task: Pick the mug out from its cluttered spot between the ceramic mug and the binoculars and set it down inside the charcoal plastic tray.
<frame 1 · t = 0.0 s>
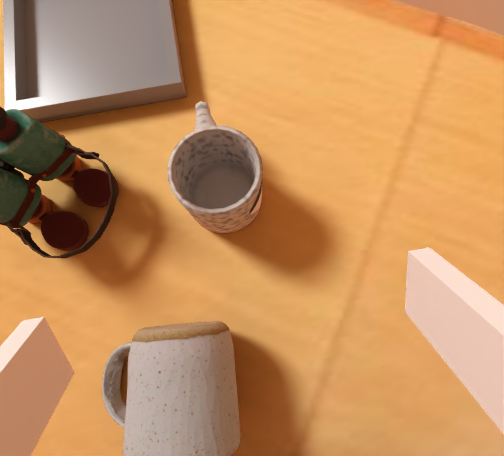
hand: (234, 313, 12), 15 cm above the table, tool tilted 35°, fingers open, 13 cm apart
ceramic mug: (178, 376, 26), on the table
mug: (221, 181, 29), on the table
binoculars: (81, 205, 29), on the table
tray: (98, 41, 32), on the table
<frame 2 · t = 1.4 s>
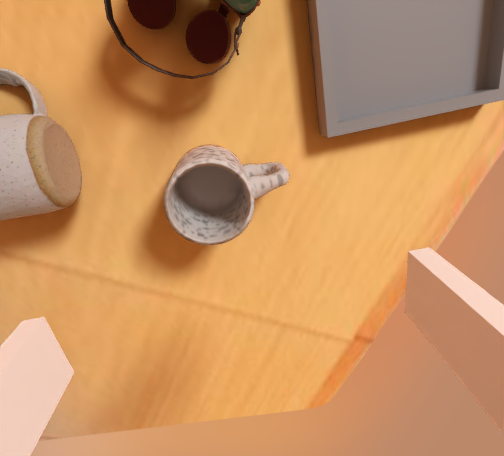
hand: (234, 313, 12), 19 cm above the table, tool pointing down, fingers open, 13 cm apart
ceramic mug: (25, 142, 27), on the table
mug: (227, 175, 30), on the table
binoculars: (190, 13, 24), on the table
tray: (405, 14, 26), on the table
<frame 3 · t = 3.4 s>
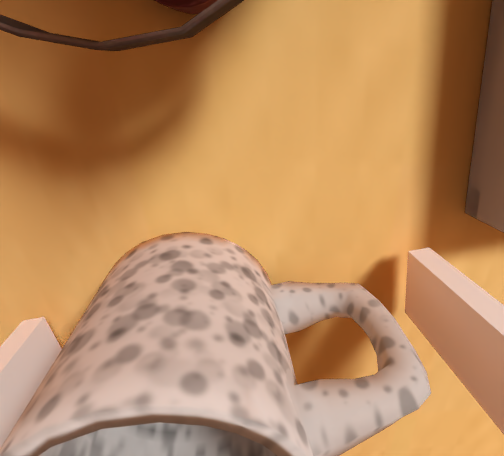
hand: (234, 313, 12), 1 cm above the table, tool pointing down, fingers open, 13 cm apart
mug: (232, 296, 13), on the table
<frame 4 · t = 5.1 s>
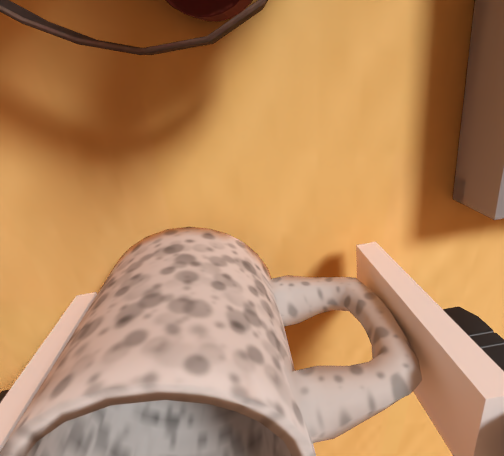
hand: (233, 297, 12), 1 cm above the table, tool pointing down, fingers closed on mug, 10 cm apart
mug: (233, 290, 13), point 1 cm above the table, touching gripper
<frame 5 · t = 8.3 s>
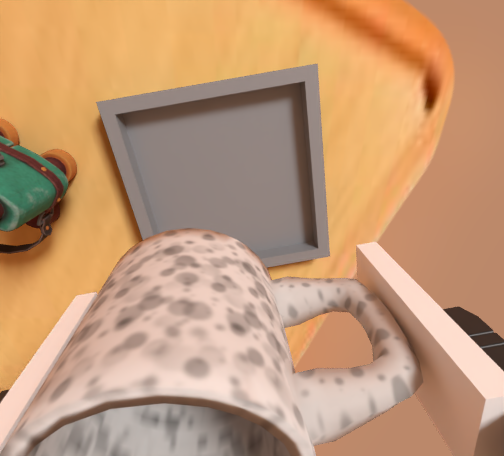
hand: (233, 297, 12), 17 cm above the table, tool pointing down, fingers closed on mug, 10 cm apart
mug: (233, 291, 13), point 16 cm above the table, touching gripper
binoculars: (22, 182, 27), on the table
tray: (227, 181, 28), on the table
when the fingers open (2 cm above the table, at t = 11.7 s): mug drops 2 cm, resting on tray.
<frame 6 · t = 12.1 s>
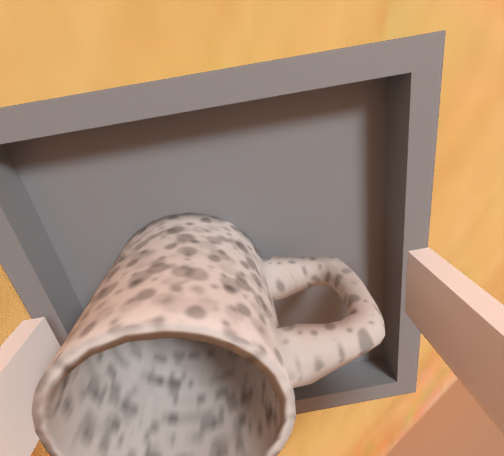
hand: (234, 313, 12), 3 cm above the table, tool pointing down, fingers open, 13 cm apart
mug: (228, 270, 14), resting on tray
tray: (231, 264, 15), on the table
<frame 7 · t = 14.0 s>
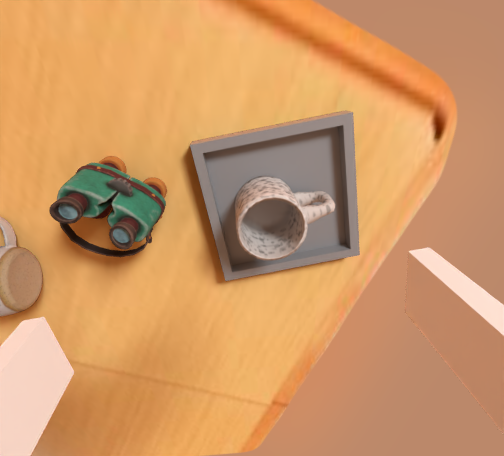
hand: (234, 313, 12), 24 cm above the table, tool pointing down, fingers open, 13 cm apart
ceramic mug: (2, 253, 37), on the table
mug: (279, 200, 35), resting on tray
binoculars: (124, 202, 35), on the table
tray: (279, 198, 36), on the table
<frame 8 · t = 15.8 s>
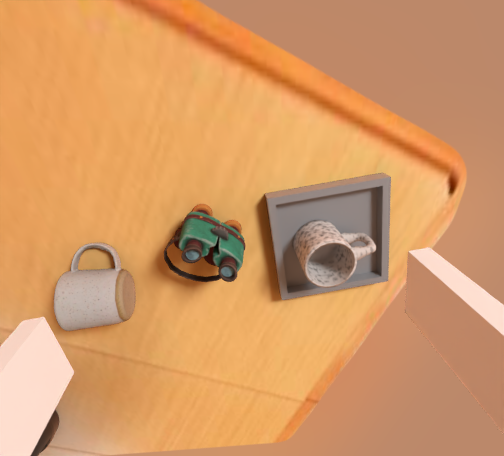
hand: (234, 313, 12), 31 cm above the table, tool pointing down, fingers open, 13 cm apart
ceramic mug: (104, 273, 45), on the table
mug: (327, 238, 45), resting on tray
binoculars: (206, 237, 44), on the table
tray: (327, 236, 45), on the table
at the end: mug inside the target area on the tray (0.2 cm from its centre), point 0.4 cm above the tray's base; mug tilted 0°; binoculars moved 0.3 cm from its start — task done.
